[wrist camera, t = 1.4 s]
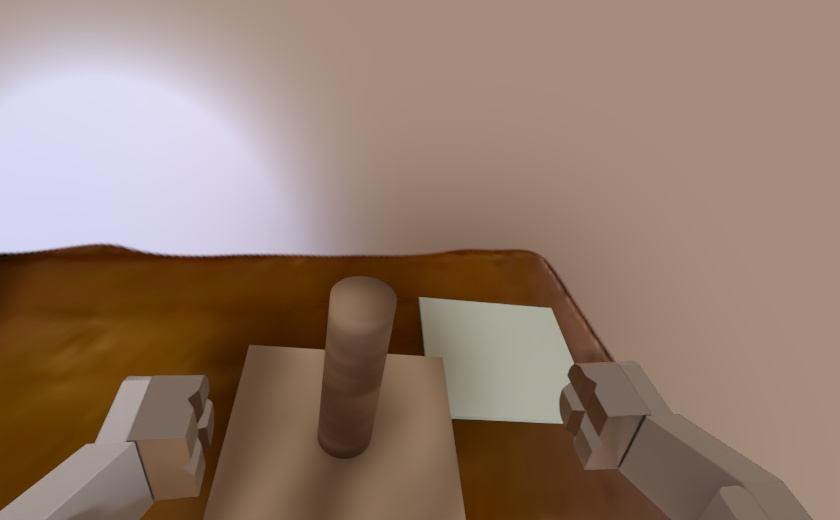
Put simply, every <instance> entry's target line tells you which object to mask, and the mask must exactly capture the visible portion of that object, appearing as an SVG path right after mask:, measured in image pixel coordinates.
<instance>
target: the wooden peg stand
mask: <svg viewBox="0 0 840 520" xmlns="http://www.w3.org/2000/svg"><path fill="white" fill-rule="evenodd" d="M396 306H397V296H396V294H395V292H394V290H393V289H392V288H391V287H390V286H389V285H388V284H386V283H385V282H383V281H381V280H379V279H376V278H373V277H367V276H353V277H348V278H345V279H343V280H341V281H339V282H337V283H336V284H335V285H334V286H333V288H332V290H331V293H330V302H329V313H328V324H327V335H326V346H325V350H322V349H306V348H291V347H276V346H261V345H249V348H248V352H247V356H246V359H245V363H244V367H243V371H242V375H241V378H240V382H239V386H238V390H237V393H236V397H235V401H234V405H233V408H232V412H231V416H230V420H229V423H228V427H227V431H226V435H225V439H224V442H223V446H222V450H221V454H220V457H219V461H218V465H217V469H216V472H215V476H214V480H213V484H212V487H211V491H210V495H209V499H208V502H207V506H206V510H205V514H204V518H203V520H466V518H465V511H464V504H463V497H462V490H461V483H460V476H459V469H458V462H457V455H456V448H455V441H454V434H453V427H452V420H451V413H450V406H449V399H448V392H447V385H446V378H445V371H444V364H443V357H428V356H413V355H398V354H387V352H388V347H389V342H390V337H391V331H392V326H393V321H394V316H395V311H396Z"/></svg>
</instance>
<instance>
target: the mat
mask: <svg viewBox="0 0 840 520" xmlns="http://www.w3.org/2000/svg"><path fill="white" fill-rule="evenodd" d="M419 309H420V318H421V327H422V337H423V346H424V356H428V357H443V364H444V371H445V378H446V385H447V392H448V399H449V406H450V413H451V419H472V420H494V421H515V422H537V423H559V424H563V421H562V419H561V415H560V411H559V398H560V395H561V391H562V389H563V388H564V387H565V386H566V385H567V384H569V383H570V380H569V378H568V376H567V374H568V372H569V369H570V367H571V366H572V365H573V364H574V362H573V360H572V357H571V355H570V353H569V350H568V348H567V345H566V343H565V340H564V338H563V336H562V333H561V331H560V328H559V326H558V323H557V321H556V319H555V316H554V314H553V311H552V309H551V308H543V307H531V306H519V305H508V304H496V303H484V302H472V301H460V300H448V299H436V298H425V297H419Z"/></svg>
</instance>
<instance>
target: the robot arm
mask: <svg viewBox="0 0 840 520" xmlns="http://www.w3.org/2000/svg"><path fill="white" fill-rule="evenodd" d="M567 376H568V378H569V380H570V383H569V384H567V385H566V386H565V387H564V388H563V389H562V391H561V395H560V398H559V411H560V415H561V419H562V421H563V424H564V426H565V428H566V429H567V430H568V431H569V432H571V433H572V434H573V435H575V439H574V443H573V446H574V448H575V450H576V453H577V455H578V457H579V459H580V461H581V463H582V466H583V468H584V470H589V469H615V468H620V469H619V471H620V472H621V473H622V474H623V475H624V476H625V477H626V478H628V479H629V480H630V481H631V482H632V483H633V484H634V485H635V486H636V487H637V488H638V489H639V490H640V491H641V492H642V493H644V494H645V495H646V496H647V497H648V498H649V499H650V500H651V501H652V502H653V503H654V504H655V505H656V506H657V507H658V508H660V509H661V510H662V511H663V512H664V513H665V514H666V515H667V516H668V517H669V518H670V519H671V520H813V519H812V518H811V517H810V515H809V514H808V513H807V511H806V510H805V509H804V508H803V506H802V505H801V504H800V503H799V501H798V500H797V499H796V498H795V496H794V495H793V494H792V493H791V491H790V490H789V489H788V487H787V486H786V485H785V484H784V482H783V481H781V480H780V479H779V478H777V477H776V476H774V475H772V474H771V473H769V472H768V471H766V470H765V469H763V468H762V467H760V466H759V465H757V464H755V463H754V462H752V461H751V460H749V459H748V458H746V457H745V456H743V455H742V454H740V453H738V452H737V451H735V450H734V449H732V448H731V447H729V446H728V445H726V444H725V443H723V442H721V441H720V440H718V439H717V438H715V437H714V436H712V435H711V434H709V433H708V432H706V431H704V430H703V429H701V428H700V427H698V426H697V425H695V424H693V423H692V422H691V421H689V420H687V419H686V418H684V417H683V416H681V415H680V414H673V413H672V412H671V410H670V409H669V407H668V406H667V404H666V403H665V401H664V400H663V399H662V397H661V396H660V394H659V393H658V391H657V390H656V388H655V387H654V386H653V384H652V383H651V381H650V380H649V378H648V377H647V375H646V374H645V373H644V371H643V370H642V368H641V367H640V365H639V364H637V363H636V362H634V361H627V362H600V363H576V364H573V365H572V366H571V367H570V369H569V372H568V374H567ZM209 389H210V386H209V381H208V377H207V376H205V375H182V376H128V377H127V378H126V379H125V380H124V381H123V382H122V384H121V386H120V389H119V391H118V393H117V395H116V397H115V399H114V402H113V404H112V406H111V408H110V410H109V413H108V415H107V417H106V419H105V421H104V424H103V426H102V428H101V430H100V432H99V434H98V437H97V439H96V441H95V443H94V444H86V445H84V446H83V447H82V448H80V449H79V450H78V451H77V452H75V453H74V454H73V455H72V456H70V457H69V458H68V459H66V460H65V461H64V462H63V463H61V464H60V465H59V466H57V467H56V468H55V469H54V470H52V471H51V472H50V473H49V474H47V475H46V476H45V477H43V478H42V479H41V480H40V481H38V482H37V483H36V484H34V485H33V486H32V487H31V488H29V489H28V490H27V491H26V492H24V493H23V494H22V495H20V496H19V497H18V498H17V499H15V500H14V501H13V502H11V503H10V504H9V505H8V506H6V507H5V508H4V509H2V510H1V511H0V520H139V519H140V518H141V517H142V516H143V515H144V513H145V512H146V511H147V510H148V509H149V508H150V507H151V505H152V504H153V500H163V499H174V498H184V497H195V496H199V493H200V489H201V485H202V481H203V476H204V472H205V468H206V465H205V459H204V453H205V452H206V451H207V450H208V449H209V448H210V446H211V442H212V437H213V429H214V408H213V402H211V401H210V400H209V399H207V397H208V393H209Z"/></svg>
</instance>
